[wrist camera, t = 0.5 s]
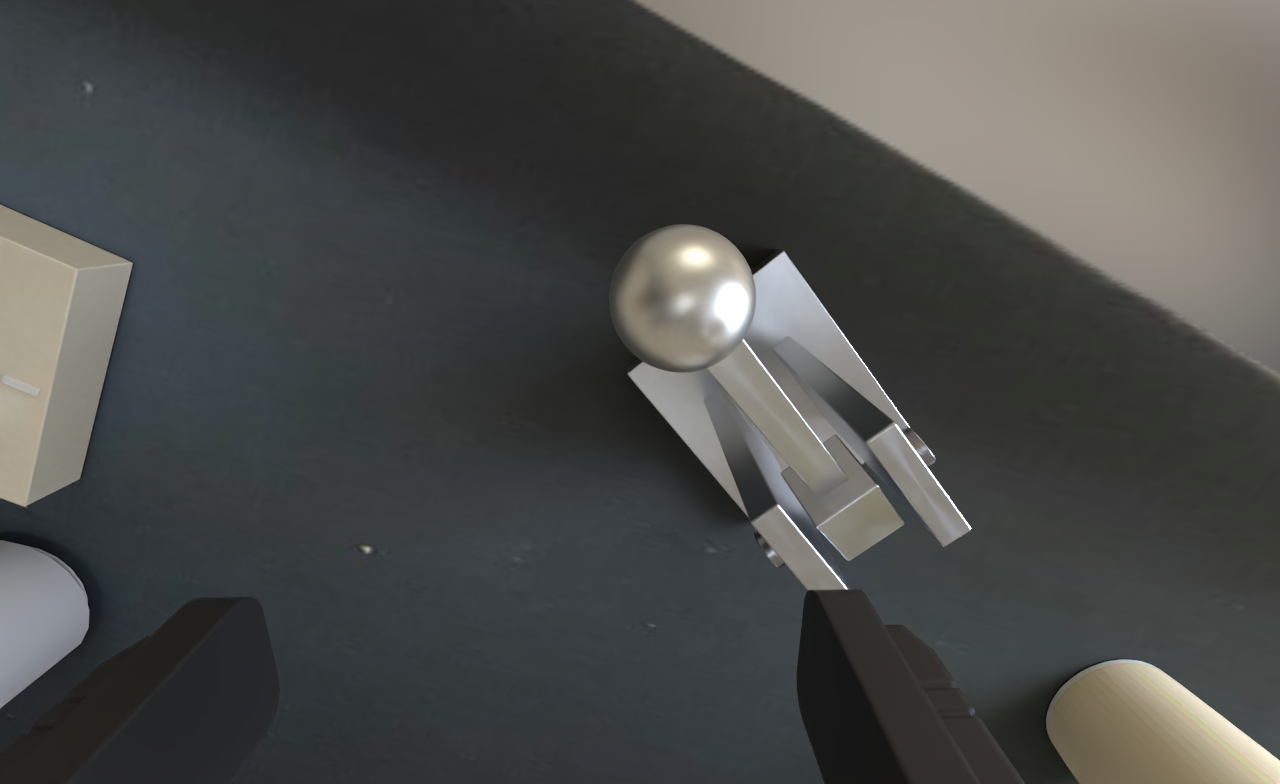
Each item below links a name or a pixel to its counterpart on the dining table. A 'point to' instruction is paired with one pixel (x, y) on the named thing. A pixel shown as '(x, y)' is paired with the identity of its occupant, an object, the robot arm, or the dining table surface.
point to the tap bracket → (828, 401)
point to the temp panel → (51, 351)
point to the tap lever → (739, 370)
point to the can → (36, 615)
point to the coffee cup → (1149, 732)
